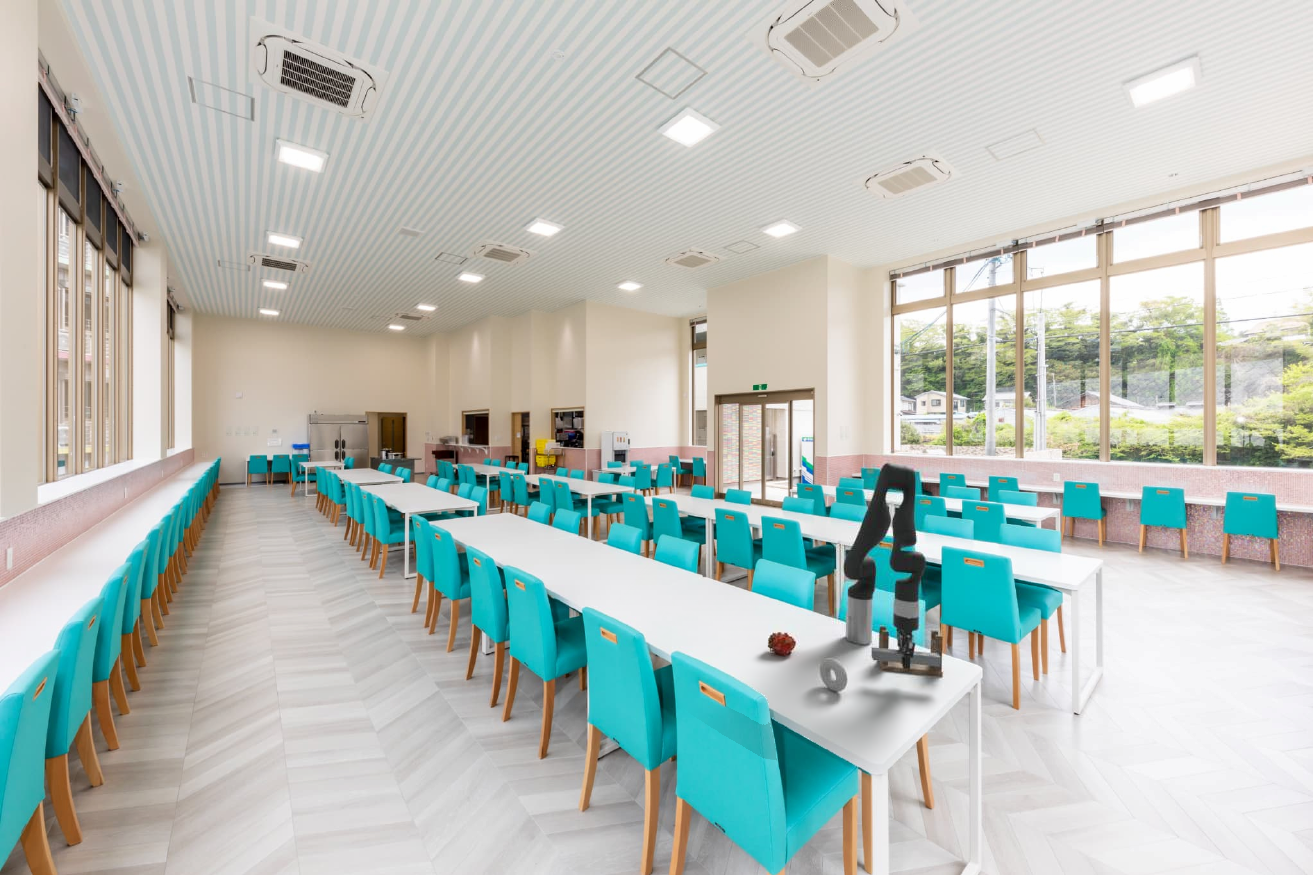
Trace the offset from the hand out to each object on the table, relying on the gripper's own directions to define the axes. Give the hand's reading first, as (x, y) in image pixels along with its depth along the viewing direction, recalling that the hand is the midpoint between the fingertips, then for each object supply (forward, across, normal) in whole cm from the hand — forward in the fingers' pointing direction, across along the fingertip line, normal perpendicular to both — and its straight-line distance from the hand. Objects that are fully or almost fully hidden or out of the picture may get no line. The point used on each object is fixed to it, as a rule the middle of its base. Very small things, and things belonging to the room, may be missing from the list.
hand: (904, 665), depth 173 cm
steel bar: (-1, 0, 0) cm, 1 cm away
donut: (+7, +9, -23) cm, 26 cm away
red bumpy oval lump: (+7, -16, -38) cm, 42 cm away
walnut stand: (+6, -14, +5) cm, 16 cm away
